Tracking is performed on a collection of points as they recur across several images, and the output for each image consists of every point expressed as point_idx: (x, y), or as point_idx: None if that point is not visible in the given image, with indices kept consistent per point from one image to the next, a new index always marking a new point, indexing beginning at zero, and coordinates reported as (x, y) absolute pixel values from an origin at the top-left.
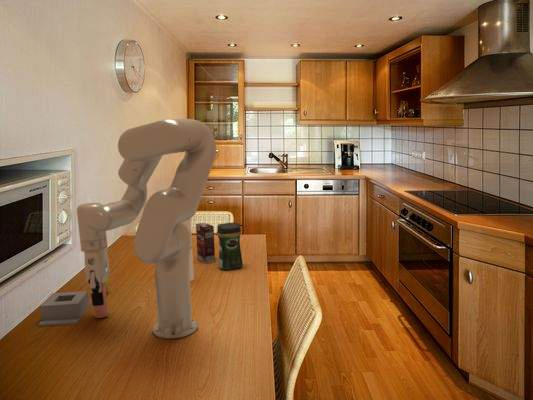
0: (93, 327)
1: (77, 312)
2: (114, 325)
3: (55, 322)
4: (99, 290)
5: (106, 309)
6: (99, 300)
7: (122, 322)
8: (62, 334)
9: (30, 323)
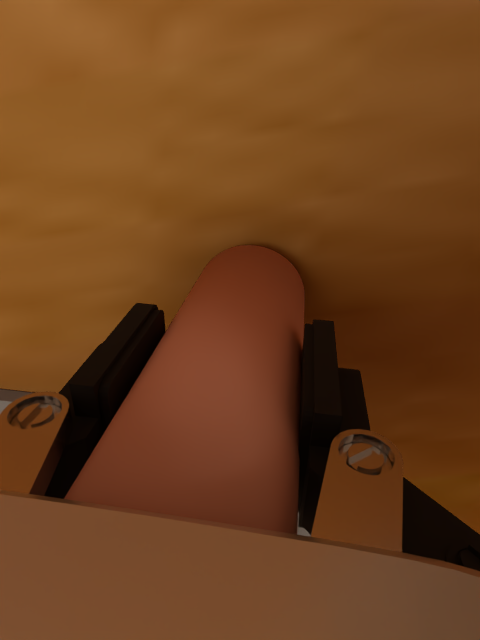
0: (439, 323)
1: None
2: (472, 156)
3: (310, 536)
4: (400, 485)
5: (269, 272)
6: (360, 386)
7: (427, 83)
8: (475, 481)
9: None
